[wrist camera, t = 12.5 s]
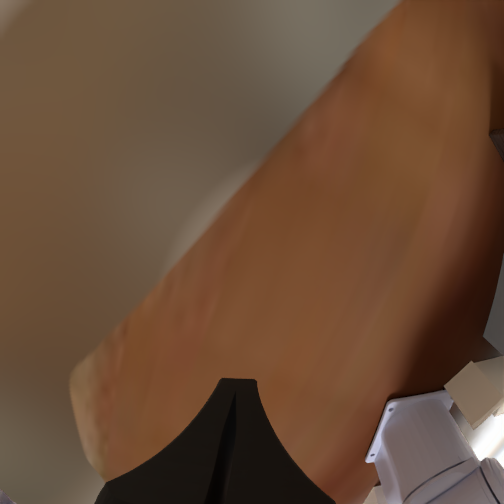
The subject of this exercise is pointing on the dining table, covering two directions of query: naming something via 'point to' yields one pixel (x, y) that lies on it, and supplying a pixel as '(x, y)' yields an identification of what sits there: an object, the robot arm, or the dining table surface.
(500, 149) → the grey long angular piece
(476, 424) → the shallow white tray
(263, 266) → the dining table surface
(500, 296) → the white block
